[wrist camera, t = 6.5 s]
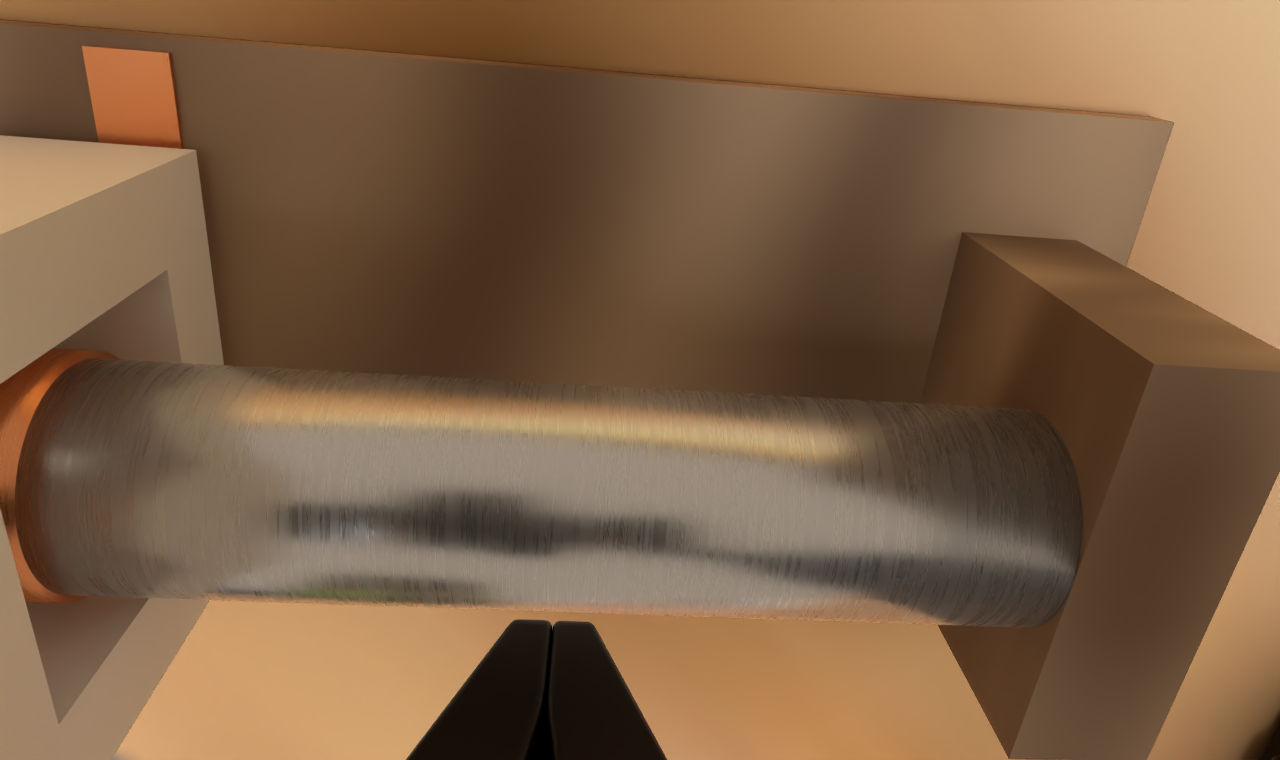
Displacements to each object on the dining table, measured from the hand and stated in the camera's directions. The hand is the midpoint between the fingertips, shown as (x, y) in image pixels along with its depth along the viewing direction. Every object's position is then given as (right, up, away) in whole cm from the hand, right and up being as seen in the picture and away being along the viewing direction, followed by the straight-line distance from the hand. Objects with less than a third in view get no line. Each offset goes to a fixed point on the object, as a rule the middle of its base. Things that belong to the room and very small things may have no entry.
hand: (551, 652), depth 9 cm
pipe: (-2, +3, +6) cm, 7 cm away
